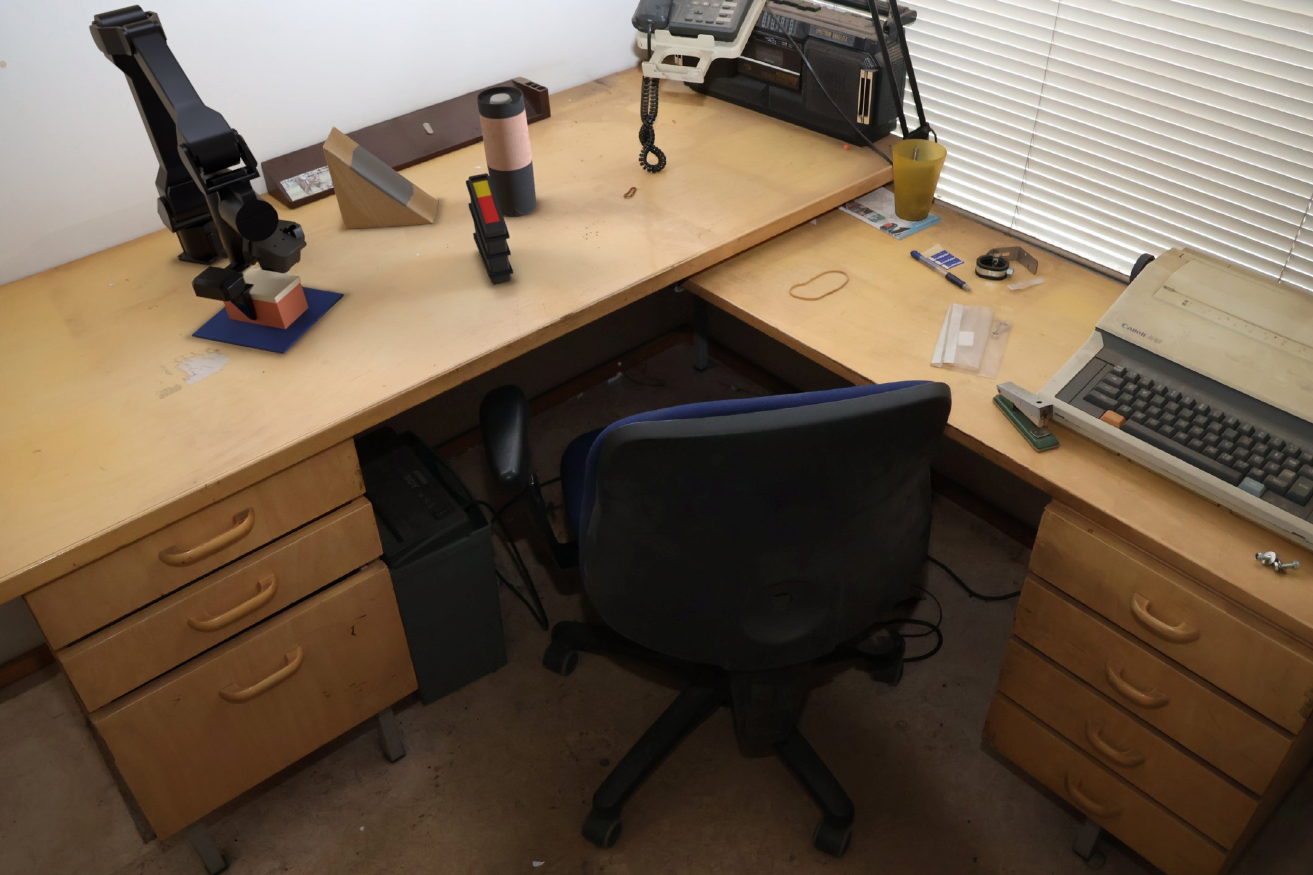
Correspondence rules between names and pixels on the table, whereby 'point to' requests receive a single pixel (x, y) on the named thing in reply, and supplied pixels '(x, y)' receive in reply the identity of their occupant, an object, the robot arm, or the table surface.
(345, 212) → the sandwich container
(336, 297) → the blue cloth
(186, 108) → the robot arm
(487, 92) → the travel mug
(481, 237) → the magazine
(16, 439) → the table surface
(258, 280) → the box
